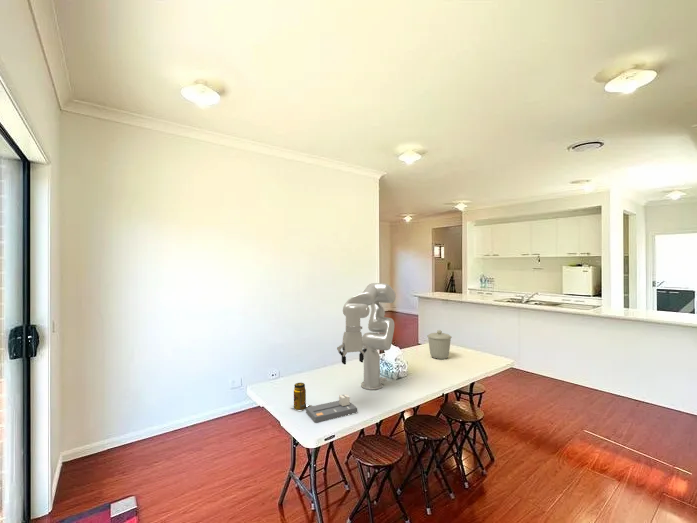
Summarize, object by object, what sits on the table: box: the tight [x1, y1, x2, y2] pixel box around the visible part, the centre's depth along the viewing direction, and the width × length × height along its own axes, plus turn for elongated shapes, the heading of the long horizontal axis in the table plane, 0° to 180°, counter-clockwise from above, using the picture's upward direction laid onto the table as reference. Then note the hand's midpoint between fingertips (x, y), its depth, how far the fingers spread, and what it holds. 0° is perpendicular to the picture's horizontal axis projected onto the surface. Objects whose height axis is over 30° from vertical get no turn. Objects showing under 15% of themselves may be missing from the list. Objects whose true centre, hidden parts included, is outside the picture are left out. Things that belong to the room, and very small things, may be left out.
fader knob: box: [338, 394, 351, 406], centre depth 167 cm, size 4×4×4 cm
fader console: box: [305, 400, 358, 424], centre depth 164 cm, size 22×12×3 cm, turn 118°
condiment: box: [293, 382, 312, 412], centre depth 171 cm, size 7×8×12 cm
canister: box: [426, 329, 452, 360], centre depth 260 cm, size 18×18×21 cm
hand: (352, 362), depth 173 cm, fingers open, 9 cm apart
